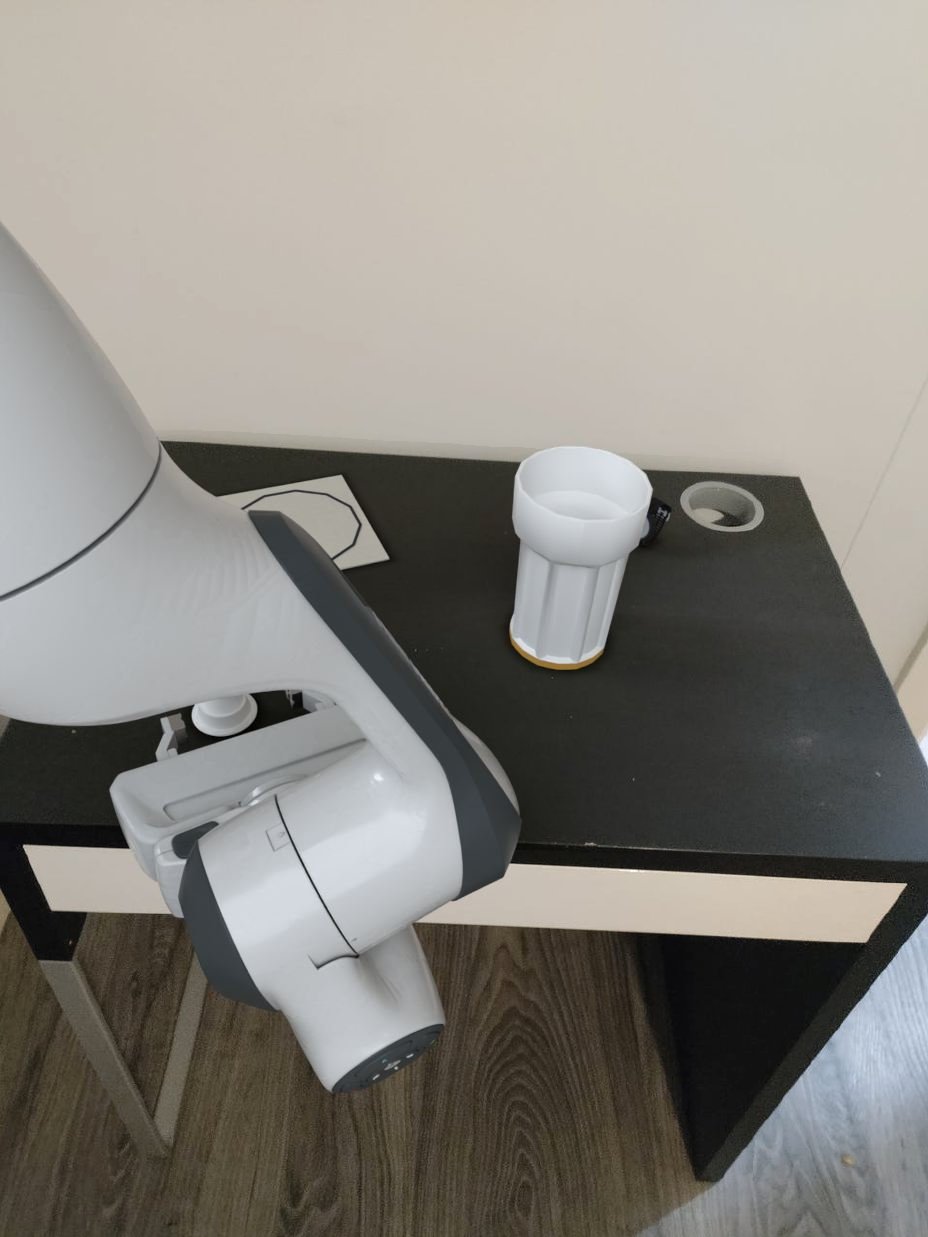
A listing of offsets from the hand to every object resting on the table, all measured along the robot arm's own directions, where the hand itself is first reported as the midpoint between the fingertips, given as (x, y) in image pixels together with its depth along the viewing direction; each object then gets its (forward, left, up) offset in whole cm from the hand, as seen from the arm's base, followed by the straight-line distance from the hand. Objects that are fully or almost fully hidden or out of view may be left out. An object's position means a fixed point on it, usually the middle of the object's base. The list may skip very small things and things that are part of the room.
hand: (233, 702), depth 70 cm
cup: (+31, +4, -7) cm, 32 cm away
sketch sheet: (+10, +28, -7) cm, 30 cm away
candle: (0, +5, -7) cm, 8 cm away
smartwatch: (+47, +14, -7) cm, 49 cm away
